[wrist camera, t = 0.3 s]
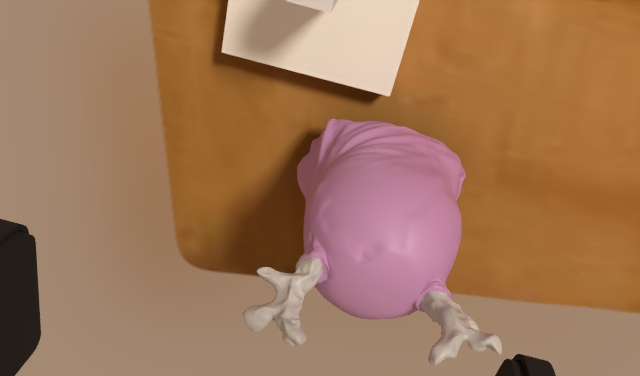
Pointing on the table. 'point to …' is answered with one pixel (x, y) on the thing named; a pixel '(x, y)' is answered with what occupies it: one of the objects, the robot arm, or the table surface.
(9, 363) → the robot arm
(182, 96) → the table surface
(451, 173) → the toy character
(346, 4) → the post plinth
